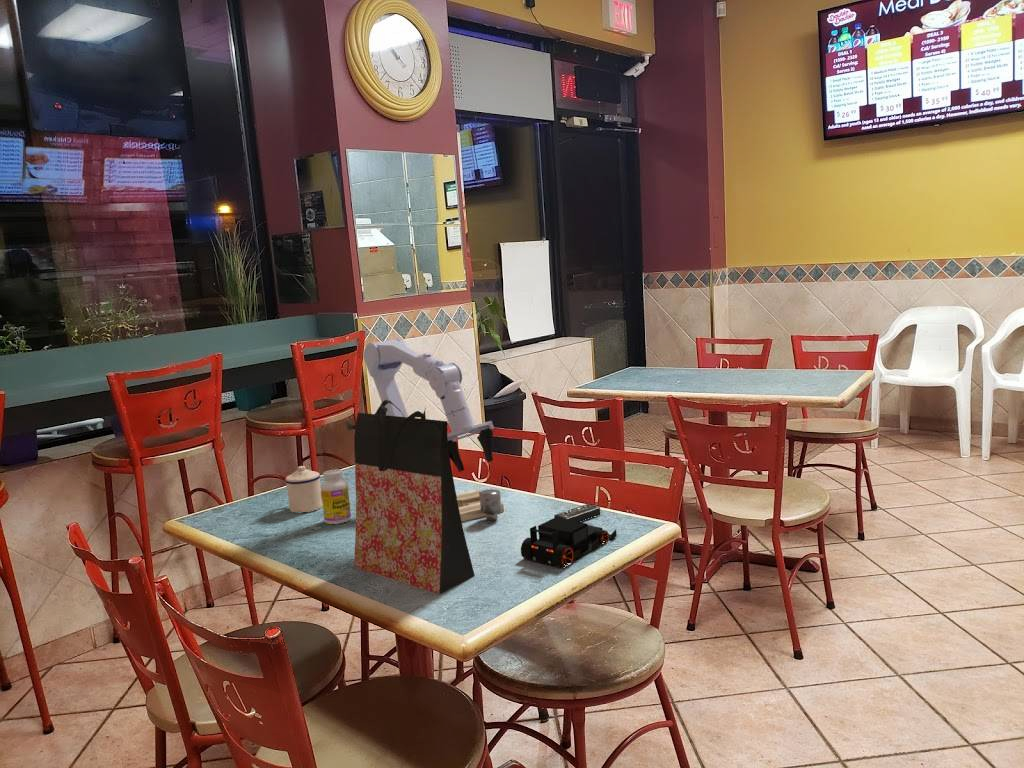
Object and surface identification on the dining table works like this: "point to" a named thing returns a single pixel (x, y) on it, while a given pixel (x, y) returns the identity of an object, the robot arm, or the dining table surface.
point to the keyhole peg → (490, 503)
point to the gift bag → (407, 502)
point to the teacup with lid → (304, 490)
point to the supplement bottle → (335, 497)
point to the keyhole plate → (471, 505)
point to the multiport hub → (579, 513)
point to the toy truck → (562, 541)
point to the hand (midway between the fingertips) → (476, 466)
